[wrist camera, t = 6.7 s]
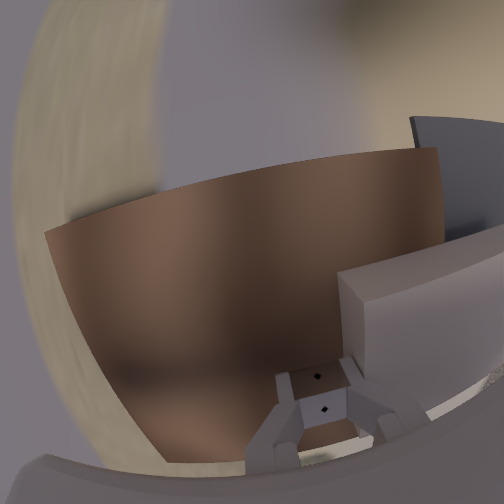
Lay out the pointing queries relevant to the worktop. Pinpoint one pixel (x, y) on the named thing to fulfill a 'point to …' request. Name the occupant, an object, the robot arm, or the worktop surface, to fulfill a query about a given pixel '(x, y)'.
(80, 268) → the plate
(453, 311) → the tile
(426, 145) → the mat
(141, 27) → the worktop surface
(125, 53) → the worktop surface
